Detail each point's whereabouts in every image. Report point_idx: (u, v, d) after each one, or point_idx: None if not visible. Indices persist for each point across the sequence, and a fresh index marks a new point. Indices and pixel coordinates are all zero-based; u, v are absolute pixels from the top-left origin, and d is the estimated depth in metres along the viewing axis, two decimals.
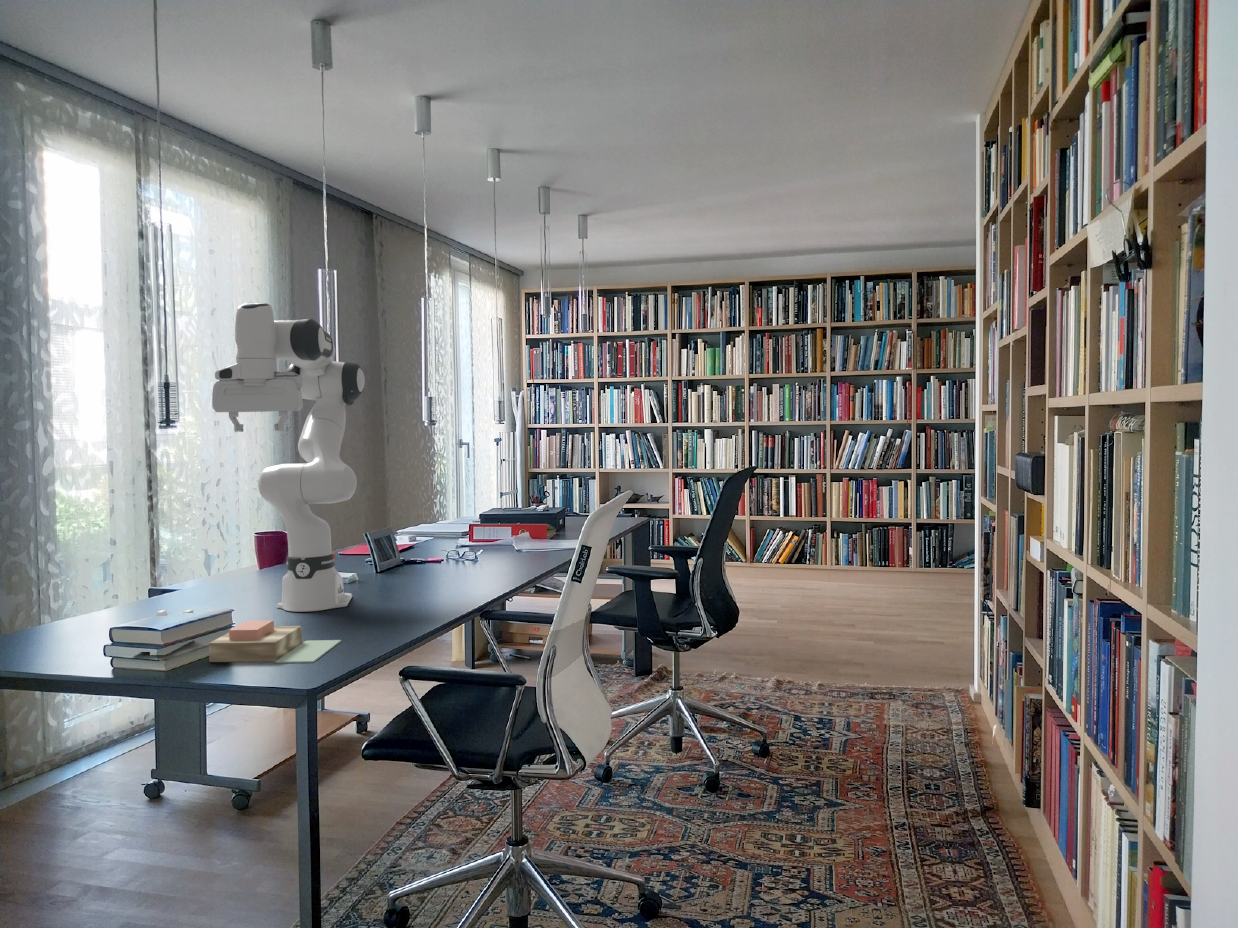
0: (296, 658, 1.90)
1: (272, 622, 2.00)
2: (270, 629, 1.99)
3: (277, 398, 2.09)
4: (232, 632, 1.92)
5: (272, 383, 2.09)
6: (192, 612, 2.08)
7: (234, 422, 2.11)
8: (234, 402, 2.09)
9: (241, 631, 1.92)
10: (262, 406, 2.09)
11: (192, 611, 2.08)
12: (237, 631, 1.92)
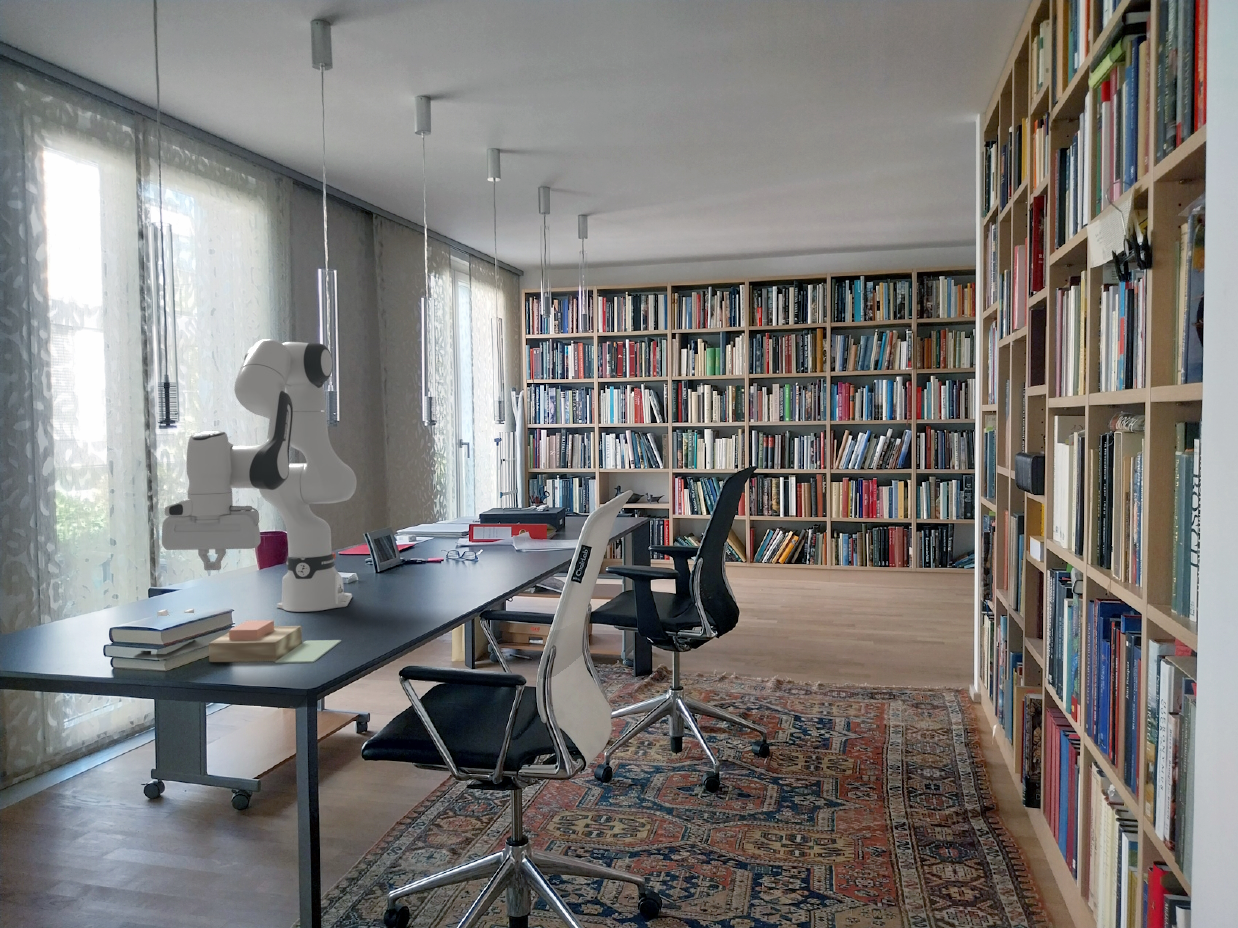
0: (296, 658, 1.90)
1: (272, 622, 2.00)
2: (270, 629, 1.99)
3: (232, 535, 1.93)
4: (232, 632, 1.92)
5: (226, 519, 1.93)
6: (193, 611, 2.08)
7: (204, 560, 1.95)
8: (186, 539, 1.94)
9: (241, 631, 1.92)
10: (216, 543, 1.94)
11: (193, 610, 2.08)
12: (237, 631, 1.92)
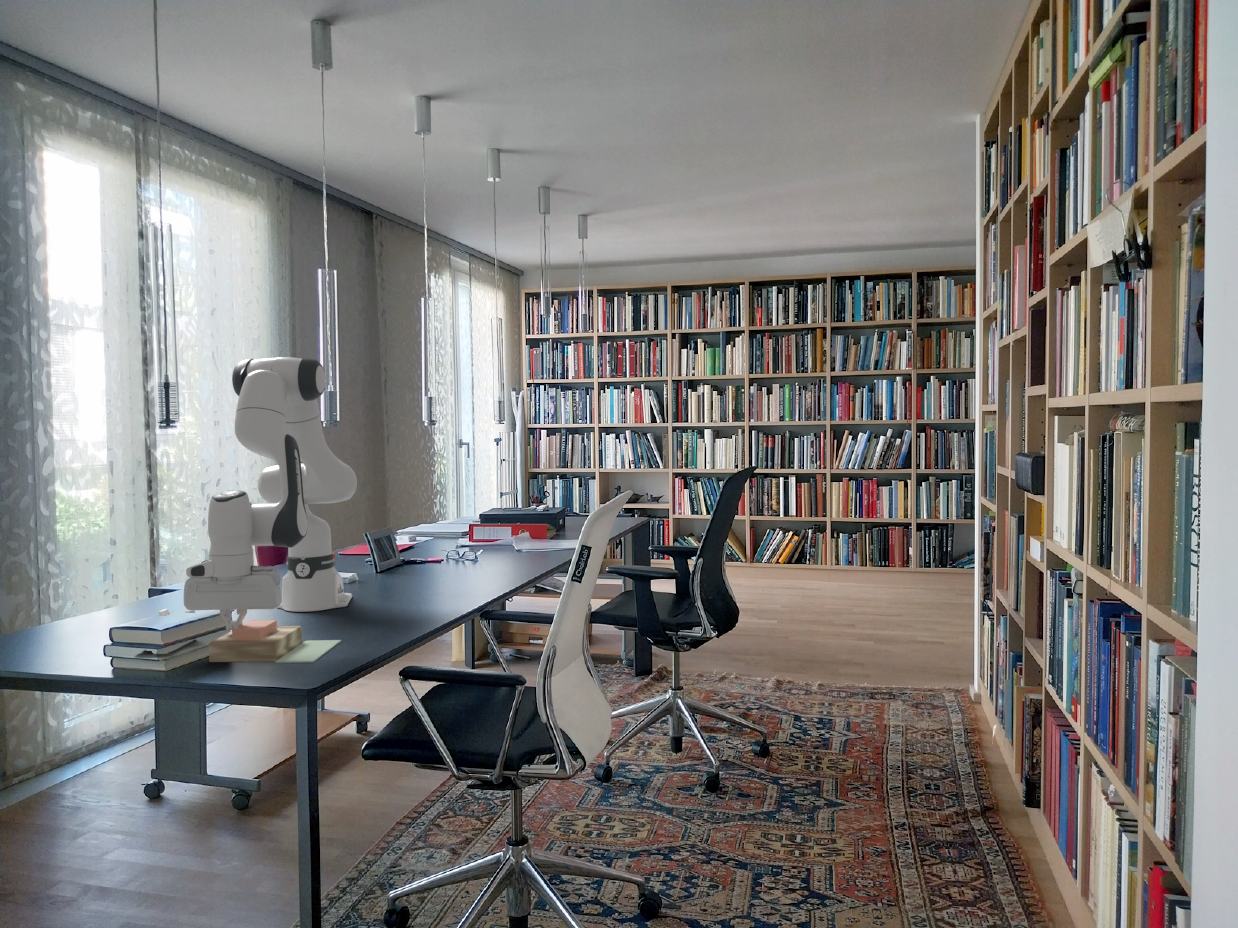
0: (296, 658, 1.90)
1: (275, 622, 2.00)
2: (273, 629, 1.99)
3: (253, 595, 1.94)
4: (235, 632, 1.92)
5: (248, 579, 1.94)
6: (194, 611, 2.09)
7: (226, 620, 1.95)
8: (207, 600, 1.94)
9: (244, 631, 1.92)
10: (237, 604, 1.94)
11: (194, 610, 2.09)
12: (240, 631, 1.92)
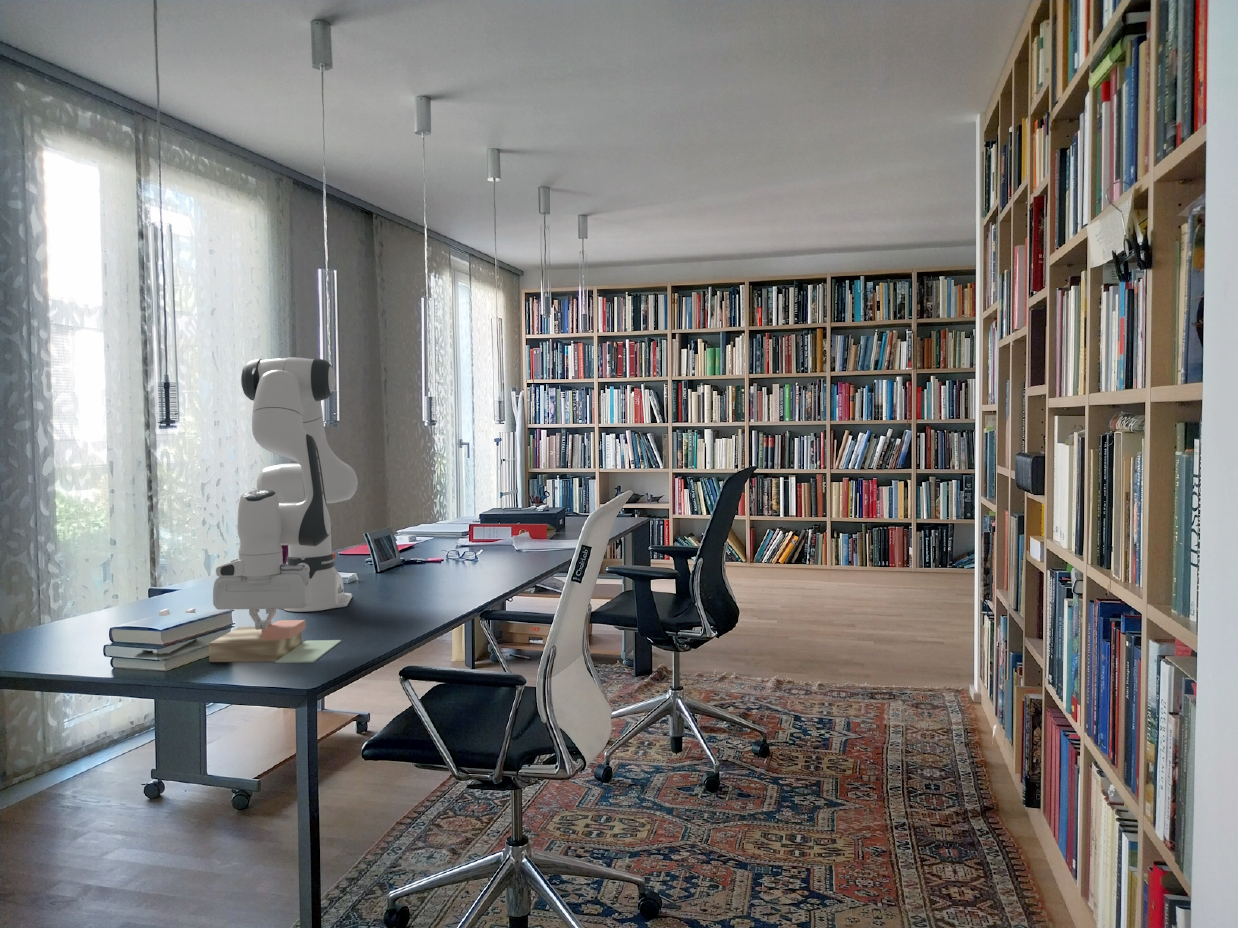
0: (296, 658, 1.90)
1: (303, 622, 2.00)
2: (302, 629, 1.99)
3: (283, 595, 1.94)
4: (265, 632, 1.92)
5: (277, 579, 1.94)
6: (194, 611, 2.09)
7: (255, 619, 1.95)
8: (237, 599, 1.94)
9: (274, 631, 1.92)
10: (267, 603, 1.94)
11: (194, 610, 2.09)
12: (270, 631, 1.92)
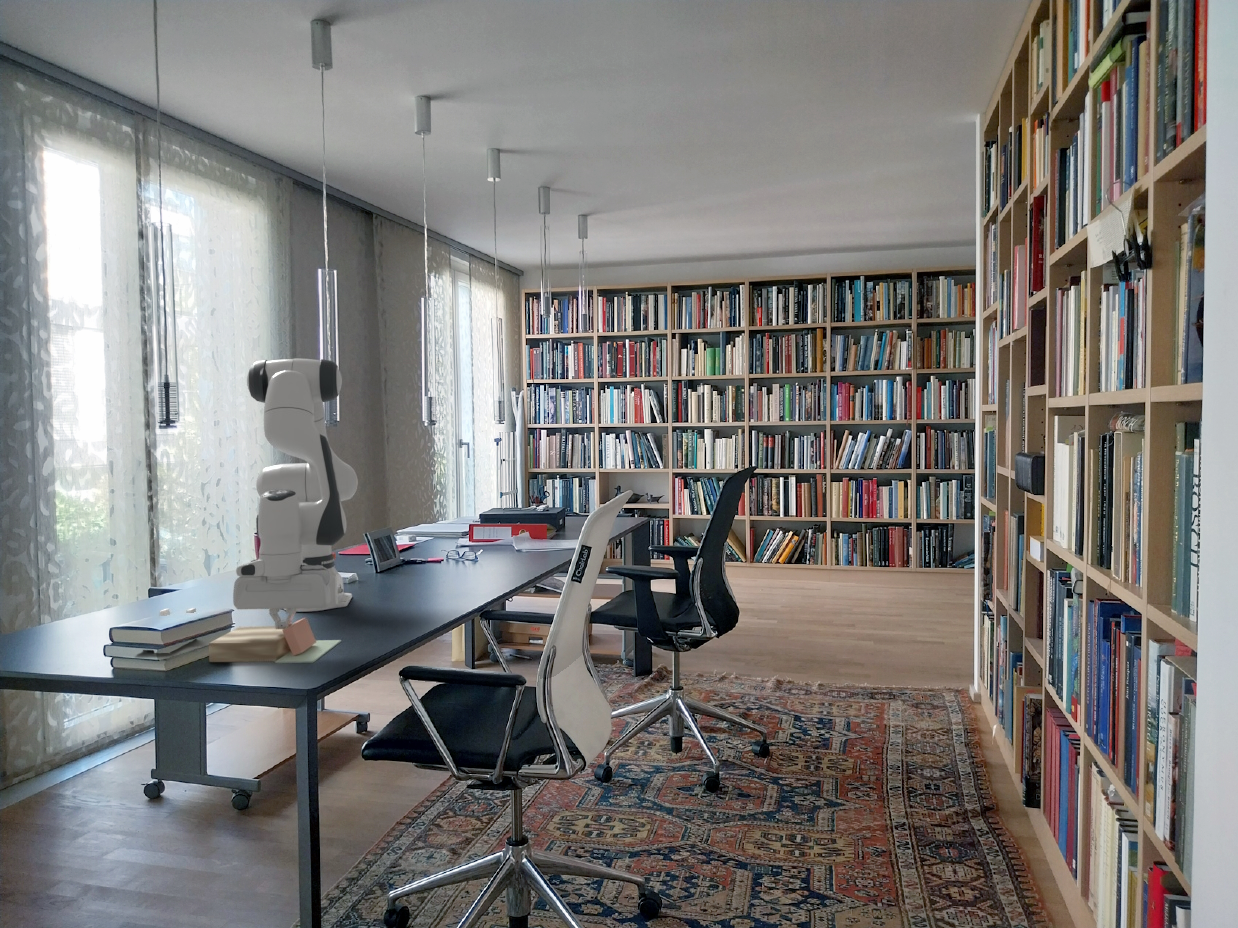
0: (296, 658, 1.90)
1: None
2: None
3: (303, 594, 1.94)
4: (289, 630, 1.92)
5: (298, 579, 1.94)
6: (195, 611, 2.09)
7: (275, 619, 1.95)
8: (257, 599, 1.94)
9: (294, 638, 1.92)
10: (287, 603, 1.94)
11: (195, 610, 2.09)
12: (292, 634, 1.92)
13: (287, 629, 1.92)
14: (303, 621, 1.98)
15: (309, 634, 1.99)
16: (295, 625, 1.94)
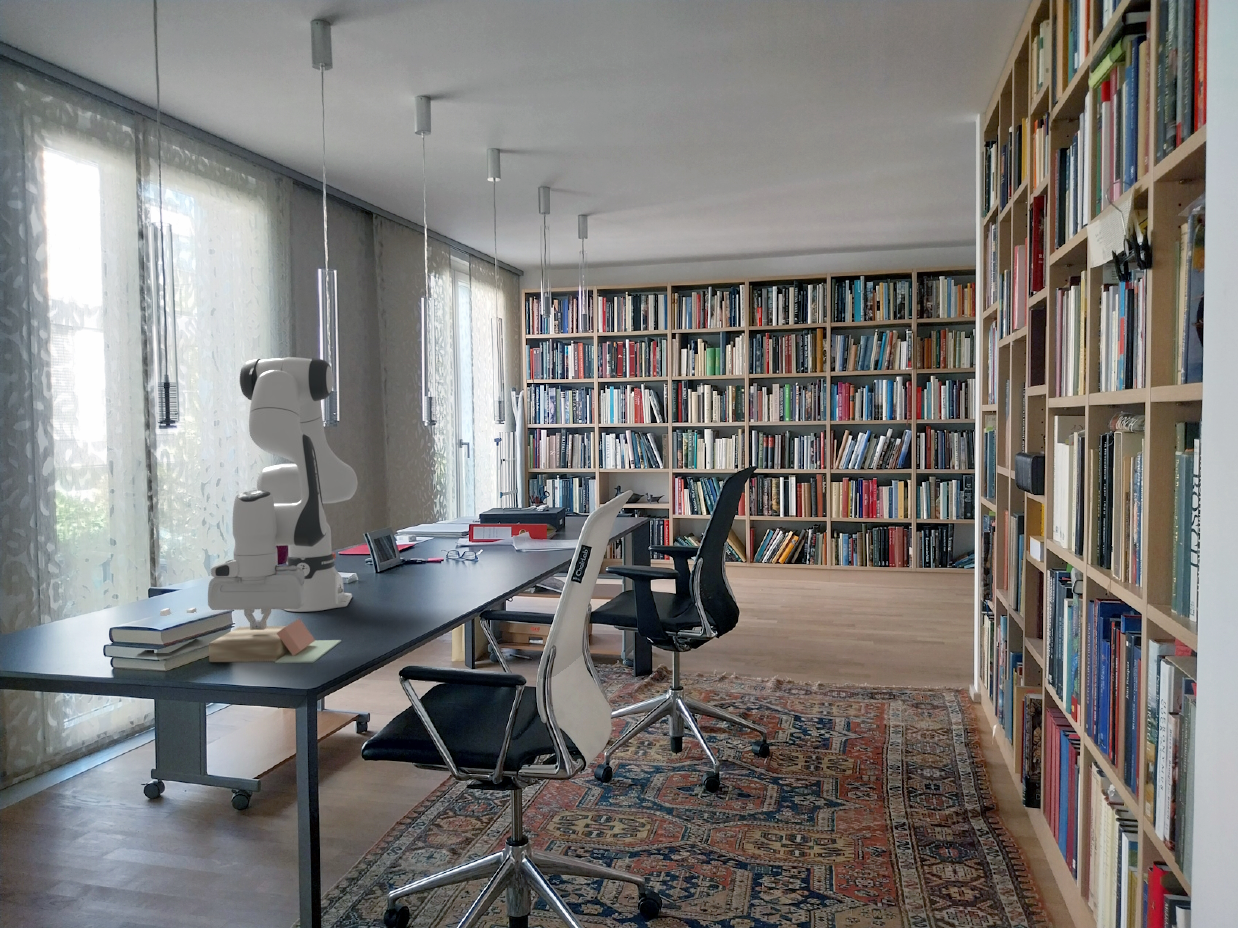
0: (296, 658, 1.90)
1: (313, 641, 2.00)
2: None
3: (278, 595, 1.94)
4: (284, 631, 1.92)
5: (272, 579, 1.94)
6: (195, 610, 2.10)
7: (250, 620, 1.95)
8: (232, 600, 1.94)
9: (290, 638, 1.92)
10: (262, 604, 1.94)
11: (195, 609, 2.10)
12: (287, 635, 1.92)
13: (281, 631, 1.92)
14: (297, 622, 1.98)
15: (306, 633, 1.99)
16: (288, 626, 1.94)
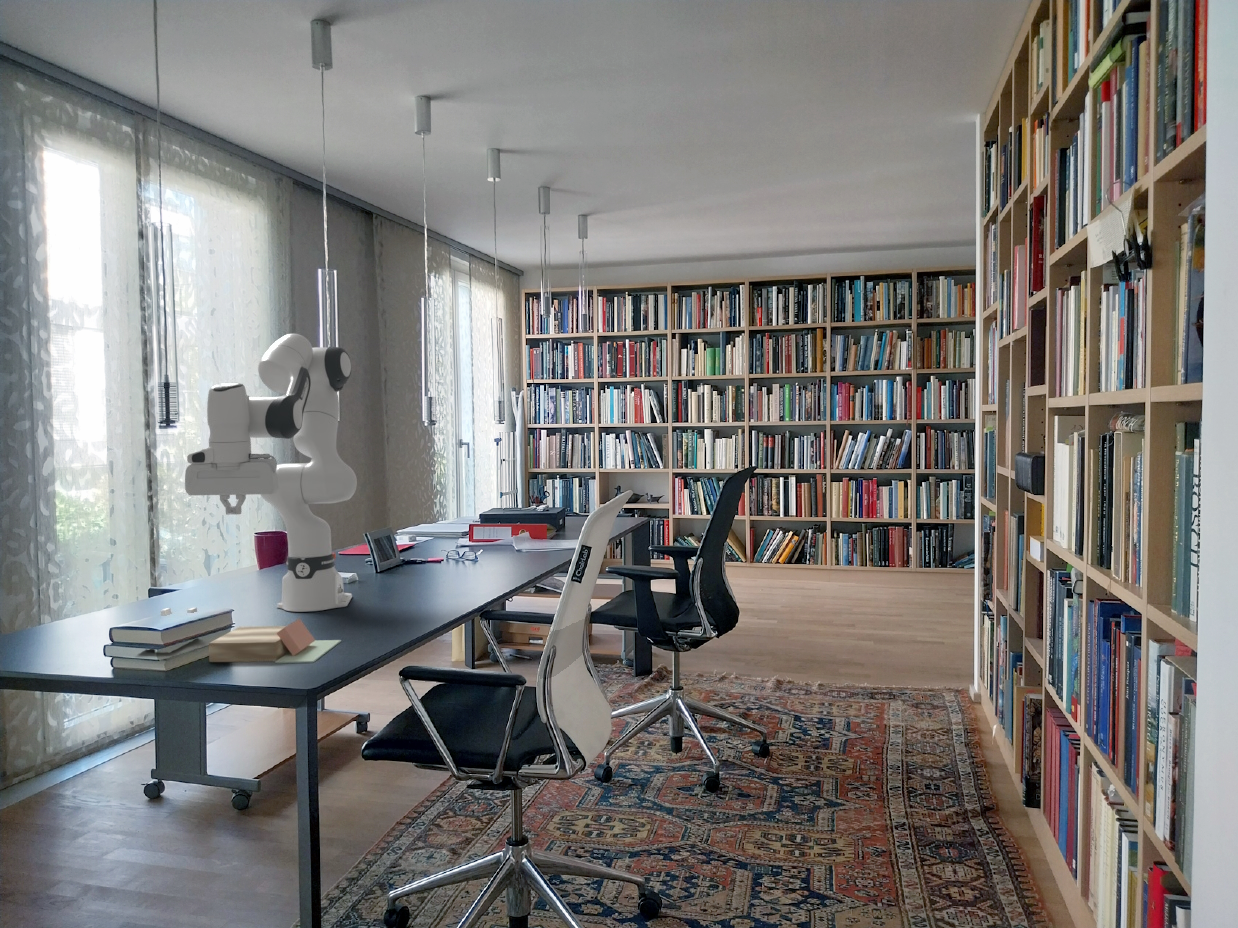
0: (296, 658, 1.90)
1: (313, 641, 2.00)
2: None
3: (252, 481, 2.05)
4: (284, 631, 1.92)
5: (246, 466, 2.05)
6: (196, 610, 2.10)
7: (225, 505, 2.06)
8: (208, 486, 2.05)
9: (290, 638, 1.92)
10: (236, 489, 2.05)
11: (196, 609, 2.10)
12: (287, 635, 1.92)
13: (281, 631, 1.92)
14: (297, 622, 1.98)
15: (306, 633, 1.99)
16: (288, 626, 1.94)
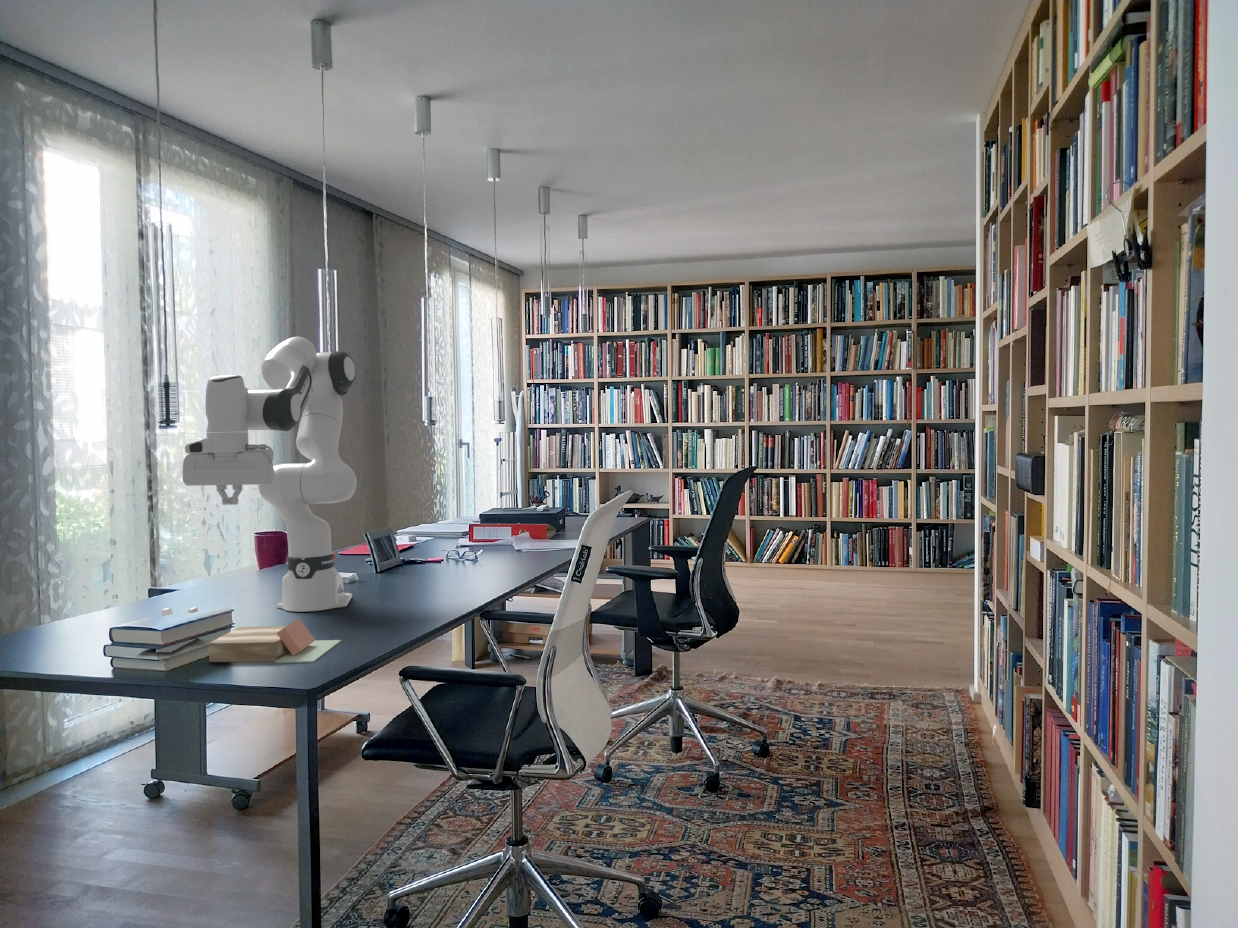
0: (296, 658, 1.90)
1: (313, 641, 2.00)
2: None
3: (248, 471, 2.07)
4: (284, 631, 1.92)
5: (243, 456, 2.07)
6: (196, 610, 2.10)
7: (222, 495, 2.08)
8: (205, 476, 2.07)
9: (290, 638, 1.92)
10: (233, 479, 2.07)
11: (196, 609, 2.10)
12: (287, 635, 1.92)
13: (281, 631, 1.92)
14: (297, 622, 1.98)
15: (306, 633, 1.99)
16: (288, 626, 1.94)
